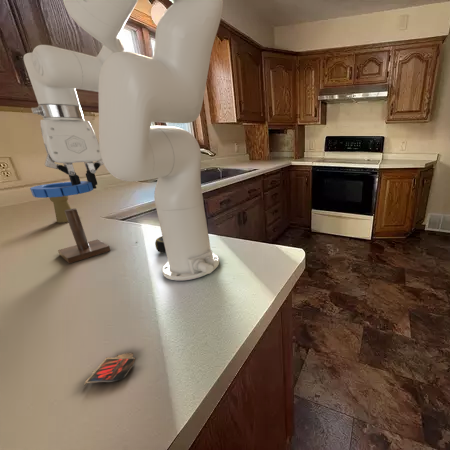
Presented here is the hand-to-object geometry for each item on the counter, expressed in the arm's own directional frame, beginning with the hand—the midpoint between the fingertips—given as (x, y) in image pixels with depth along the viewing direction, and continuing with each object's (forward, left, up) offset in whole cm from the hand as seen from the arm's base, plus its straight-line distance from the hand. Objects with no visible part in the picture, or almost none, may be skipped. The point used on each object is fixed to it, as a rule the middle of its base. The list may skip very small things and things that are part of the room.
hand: (86, 188), depth 66 cm
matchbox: (-50, +15, -17) cm, 55 cm away
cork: (+45, -1, -18) cm, 48 cm away
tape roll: (0, +4, 0) cm, 5 cm away
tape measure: (-19, -10, -18) cm, 28 cm away
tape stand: (0, +5, -17) cm, 18 cm away
